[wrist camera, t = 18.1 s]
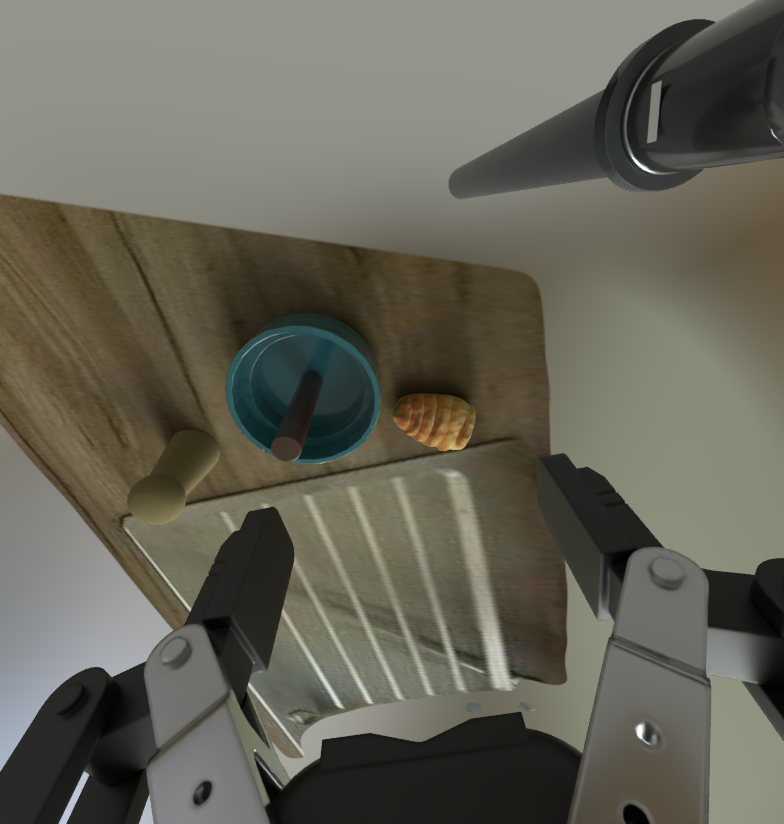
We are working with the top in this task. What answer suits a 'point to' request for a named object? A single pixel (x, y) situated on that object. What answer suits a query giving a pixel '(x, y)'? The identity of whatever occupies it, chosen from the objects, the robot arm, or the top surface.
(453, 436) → the pastry
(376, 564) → the top surface
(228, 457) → the top surface
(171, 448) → the cork
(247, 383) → the bowl
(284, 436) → the stirring stick
